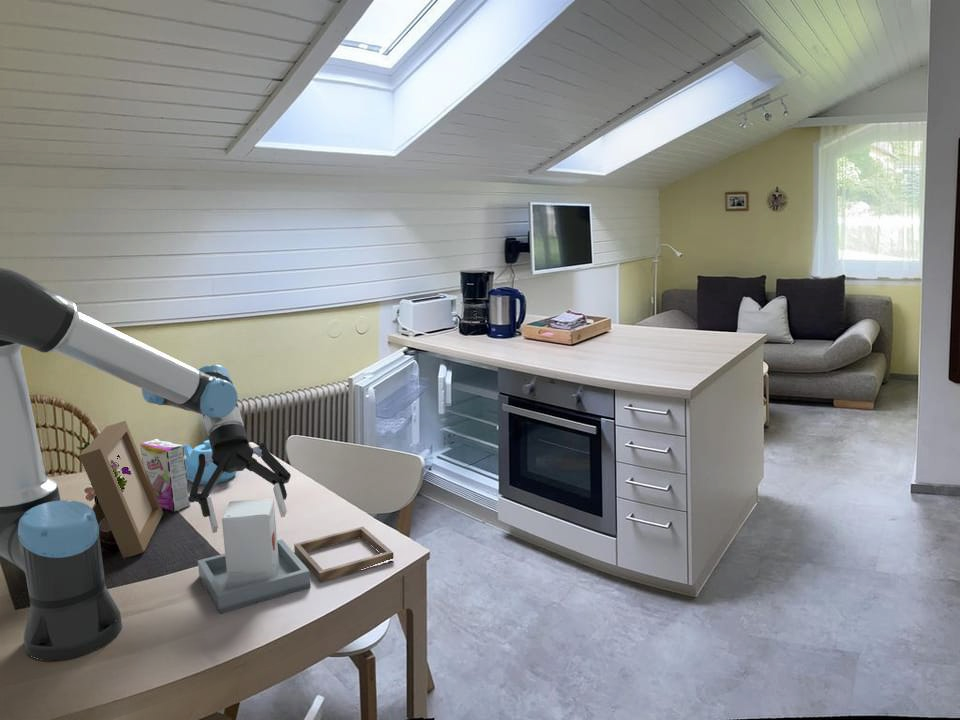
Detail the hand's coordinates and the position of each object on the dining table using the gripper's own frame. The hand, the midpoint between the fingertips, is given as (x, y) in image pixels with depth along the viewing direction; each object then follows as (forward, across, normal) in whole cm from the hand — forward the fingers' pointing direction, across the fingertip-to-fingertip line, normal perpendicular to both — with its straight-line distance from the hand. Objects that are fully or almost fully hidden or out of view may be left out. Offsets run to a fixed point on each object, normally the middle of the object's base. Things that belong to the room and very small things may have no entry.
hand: (250, 522), depth 151 cm
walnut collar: (+10, -18, -7) cm, 22 cm away
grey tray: (+10, +1, -7) cm, 12 cm away
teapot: (-38, -5, -55) cm, 67 cm away
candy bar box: (-27, +8, -45) cm, 53 cm away
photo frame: (-16, +21, -34) cm, 43 cm away
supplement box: (+10, +1, -6) cm, 11 cm away
